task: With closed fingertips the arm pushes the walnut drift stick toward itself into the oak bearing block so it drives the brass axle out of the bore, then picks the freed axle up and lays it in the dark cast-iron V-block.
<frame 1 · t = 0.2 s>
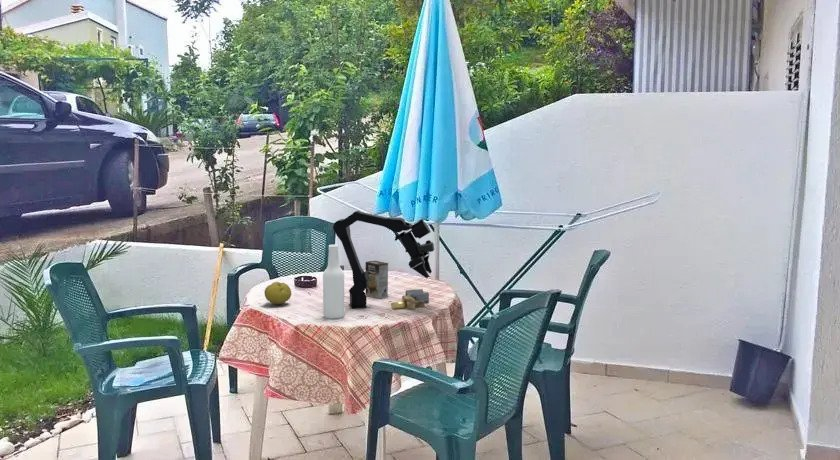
hand: (429, 275, 316), 15 cm above the table, tool tilted 30°, fingers open, 9 cm apart
bearing block: (408, 307, 320), on the table
axle: (402, 308, 319), on the table
alcohol: (333, 316, 304), on the table
fruit: (278, 305, 324), on the table
coffee box: (376, 296, 341), on the table
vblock: (417, 301, 331), on the table
drift: (418, 307, 322), on the table
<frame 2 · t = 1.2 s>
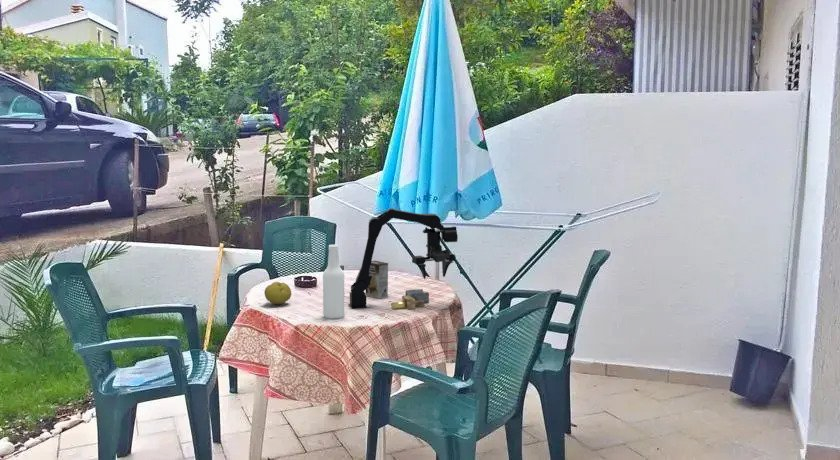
hand: (434, 277, 323), 12 cm above the table, tool pointing down, fingers open, 9 cm apart
nothing on the table moved.
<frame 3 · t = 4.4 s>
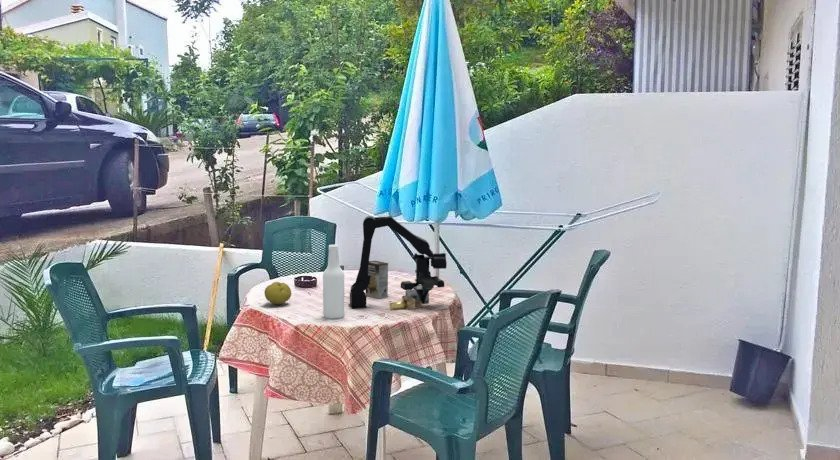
hand: (422, 303, 323), 1 cm above the table, tool pointing down, fingers closed
axle: (400, 308, 319), on the table, tilted 21°, touching drift
drift: (415, 306, 321), on the table, touching axle, gripper
everything else where it was.
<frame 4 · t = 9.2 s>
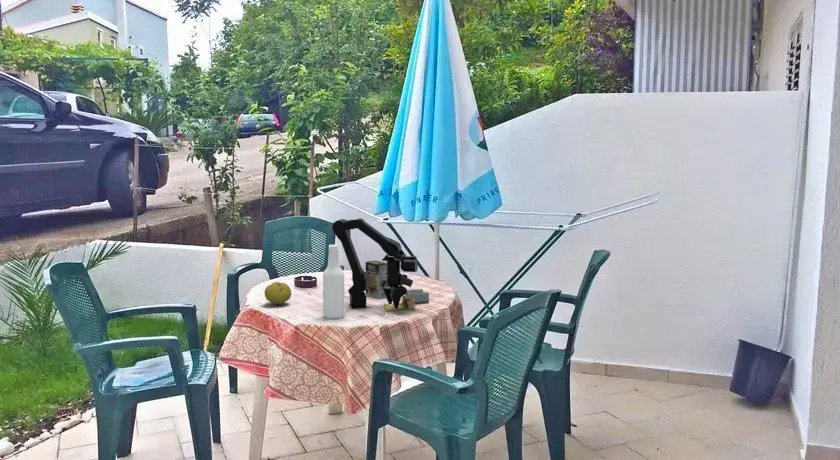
hand: (393, 306, 318), 1 cm above the table, tool pointing down, fingers open, 7 cm apart
axle: (393, 306, 317), point 1 cm above the table, tilted 87°, touching gripper
drift: (408, 308, 320), on the table
everything else where it was.
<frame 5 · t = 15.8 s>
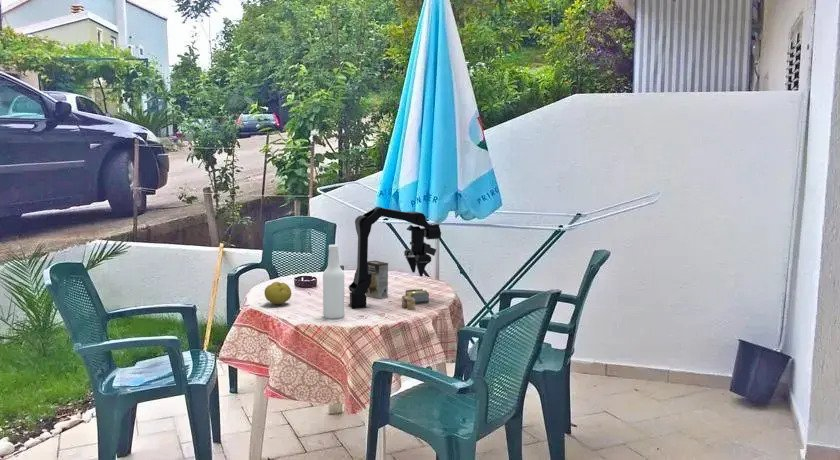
hand: (417, 274, 330), 12 cm above the table, tool pointing down, fingers open, 9 cm apart
axle: (416, 297, 331), point 2 cm above the table, touching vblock
everything else where it was.
at the end: axle inside the target area on the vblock (0.1 cm from its centre), point 1.8 cm above the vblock's base; axle touching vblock; the gripper is holding nothing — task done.
